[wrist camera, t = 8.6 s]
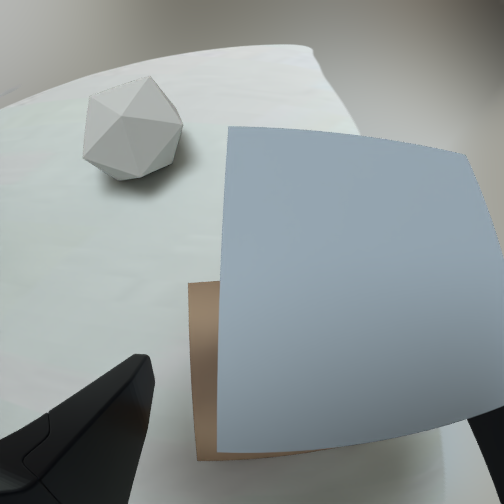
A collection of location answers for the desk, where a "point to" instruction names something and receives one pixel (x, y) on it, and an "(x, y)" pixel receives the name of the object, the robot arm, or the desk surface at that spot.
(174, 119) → the die
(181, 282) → the desk surface
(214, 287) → the walnut base block
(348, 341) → the slate block
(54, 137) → the desk surface
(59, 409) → the robot arm
